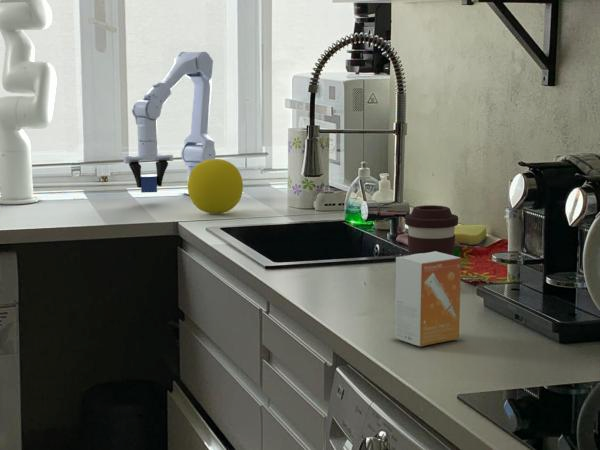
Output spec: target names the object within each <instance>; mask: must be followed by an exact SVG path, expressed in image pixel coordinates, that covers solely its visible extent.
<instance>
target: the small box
mask: <svg viewBox="0 0 600 450" xmlns="http://www.w3.org/2000/svg"><path fill="white" fill-rule="evenodd" d="M461 272H462V257H460V256H455V255H454V256H452V255H448V254H444V253H440V252H436V251H434V252H429V253H420V254H413V255H409V254H408V255H402V256H396V257H395V306H394V308H395V309H394V310H395V311H394V312H395V313H394V321H395V322H394V338H395V339H397V340H399V341H402V342H405V343H408V344H411V345H414V346H416V347H417V346H418V347H424V346H425V347H426V346H428V345H434V344H438V343H444V342H450V341H456V340H459V339H460V319H461V318H460V314H461V313H460V312H461V280H462V279H461V278H462V277H461V274H462V273H461Z"/></svg>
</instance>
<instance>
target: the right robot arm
mask: <svg viewBox="0 0 600 450" xmlns="http://www.w3.org/2000/svg"><path fill="white" fill-rule="evenodd" d="M173 60H174V61H173V62H174V63H173V65H172V66H171V68H170V69H169V71H168V72H167V74H166V75H165V77H163V80H162V81H157V82H154V83H153V84H152V87H151V88H150V89H149V90H148V92H147V93H146V94H144V96H143V98H142V99H139V100H138V99H137V101H136V102H135V103H134V104H133V108H132V109H131V113H132V115H133V117H134V119H135V124H136V126H137V128H136V129H137V153H138V155H137V154H136V155H129V156H128V155H127V156H126V155H125V156H123V157H122V159H123V164H127V165H128V166H129V168H130V170H131V172H132V174H133V177H134V179H135V183H136V187H137V188H138V189H141V175H142V165H141V163H155V168H156V174H157V187H162V186H163V185H162V184H163V180H164V175H165V173H166V170H167V168H168V166H169V162H173V161H174V155H173V154H172V153H160V154H159V146H158V145H159V144H158V143H159V142H158V118H160V116H161V113H162V109H163V106H164V105H165V104H166V102H167V101H168V100H169V98H170V97H171V96H172V89H173V88H174V87H175V86H176V85H177V84H178V83H179V82H180V80H182V79H183V77H184V76H185V77H186V78H188V79H190V81H191V82H192V83H193V95H192V97H193V98H192V109H191V110H192V111H191V123H190V134H189V135H188V136H187V137H186V138H185V139H184V141H183V147H182V149H181V155H180V156H181V159H182V161H183V162H184V166H186V171H187V180H188V179H189V176H190V173H191V171H192V170H193V168H194V167H195V166H196V165H198V164H199V163H201V162H203V161H205V160H209V159H216V157H217V156H216V155H217V154H216V149H215V143H216V142H215V141H214V139H212V138H211V137H210V136H209V128H210V127H209V125H210V113H211V100H212V88H213V87H212V86H213V65H214V60H213V58H212V57H211V54H209V53H208V52H207V51H181V52H179V53H178V54H177V56H176V57H174V59H173ZM181 195H189V193H188V191H183V192H181Z"/></svg>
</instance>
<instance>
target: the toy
mask: <svg viewBox="0 0 600 450" xmlns="http://www.w3.org/2000/svg"><path fill="white" fill-rule="evenodd" d="M242 177H243V176H242V175H241V172H240V170H239V169H238V168H237V167H236V166H235V165H234V164H233V163H231V162H230V161H228V160H225V159H221V158H215V159H209V160H205V161H203V162H201V163H199V164H198V165H196V166H195V167H194V168H193V170H192V171H191V173H190V176H189V179H188V178H187V192H188V193H189V194H188V197H189V199H190V201H191V202H192V204H193V205H194V206H195V207H196V208H197V209H199V210H200V211H202V212H204V213H208V214H214V215H215V214H223V213H227V212H229V211H231V210H233V208H235V207H236V206H237V205H238V203H239V202H240V200H241V198H242V195H243V191H244V183H243V178H242Z"/></svg>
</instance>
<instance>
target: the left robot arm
mask: <svg viewBox="0 0 600 450" xmlns="http://www.w3.org/2000/svg"><path fill="white" fill-rule="evenodd" d="M52 21H53V13H52V8H51V6H50V4H49V2H48V0H0V34H1V36H2V38H3V41H4V46H5V51H4V60H3V69H2V77H1V83H2V88H3V89H4V90H5V91H6V92H8V93H10V94H18V95H8V96H6V95H5V96H2V97H0V205H25V204H26V205H27V204H33V203H38V202H39V201H40V197H39V196H38V195H34V181H33V162H32V144H31V140H30V138H29V136H28V135H27V133H26V132H25V131H24V129H28V130H29V129H30V130H33V129H36V130H37V129H45V128H48V127H49V126H50V124H51V123H52V120H53V116H54V115H53V114H54V106H55V100H56V99H55V98H56V90H57V73H56V71H55V68H54V66H53V65H52V64H51V63H49V62H47V61H35V54H36V53H35V52H36V48H35V45H34V43H33V41H32V40H31V38H30V37H29V36H28V35H27V34H26V33H27V32H25V31H40V30H46V29H48V28H49V27H50V25H51V24H52ZM19 94H20V95H19ZM21 94H22V95H21ZM23 94H25V95H23ZM26 94H27V96H26ZM28 94H30V95H29V96H28ZM31 95H32V96H31Z"/></svg>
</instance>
